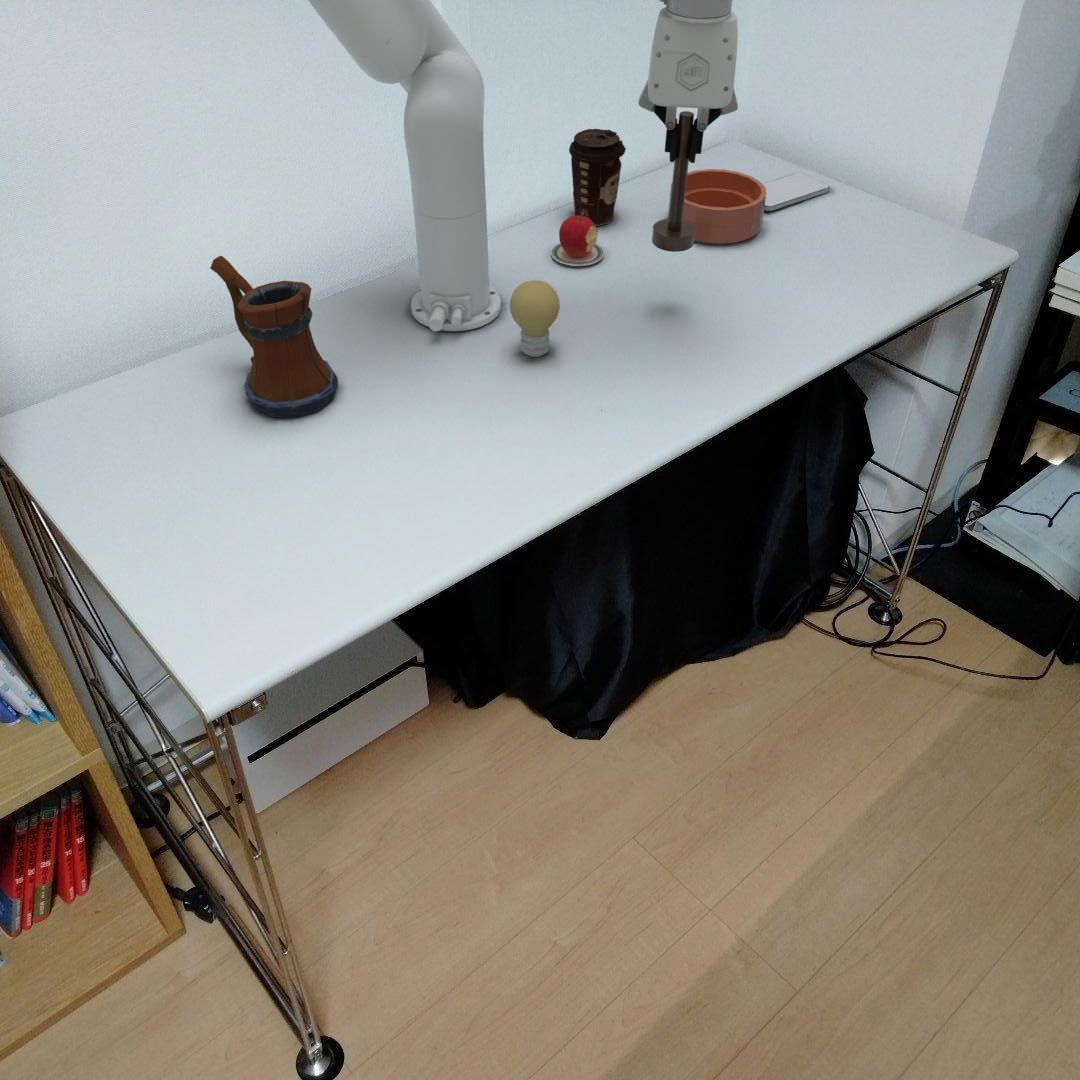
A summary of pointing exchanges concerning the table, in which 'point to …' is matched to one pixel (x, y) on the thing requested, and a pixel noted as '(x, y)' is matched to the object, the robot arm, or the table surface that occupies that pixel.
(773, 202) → the smartphone
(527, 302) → the light bulb
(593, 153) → the coffee cup
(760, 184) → the bowl
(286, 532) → the table surface
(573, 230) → the red apple in dish
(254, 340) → the mug
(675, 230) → the dowel on round base
